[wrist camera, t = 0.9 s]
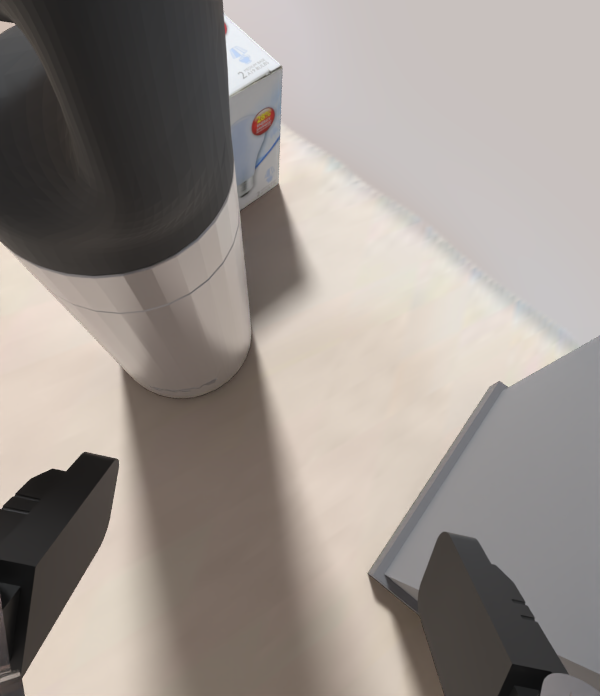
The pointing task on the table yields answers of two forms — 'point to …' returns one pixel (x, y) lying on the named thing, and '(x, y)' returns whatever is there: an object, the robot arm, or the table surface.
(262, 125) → the light bulb box
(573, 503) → the charcoal pedestal
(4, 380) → the table surface
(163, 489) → the table surface
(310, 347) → the table surface
